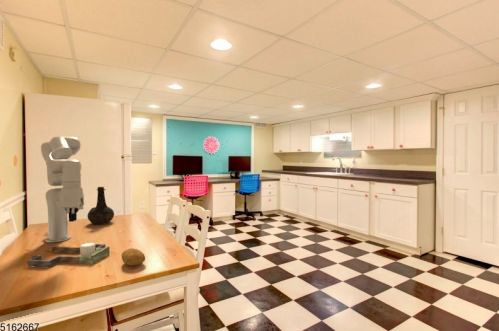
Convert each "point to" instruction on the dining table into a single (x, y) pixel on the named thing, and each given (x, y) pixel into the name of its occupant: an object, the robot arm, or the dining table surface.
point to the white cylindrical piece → (87, 249)
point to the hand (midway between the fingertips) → (72, 220)
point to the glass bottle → (100, 210)
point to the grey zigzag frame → (100, 253)
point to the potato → (133, 257)
